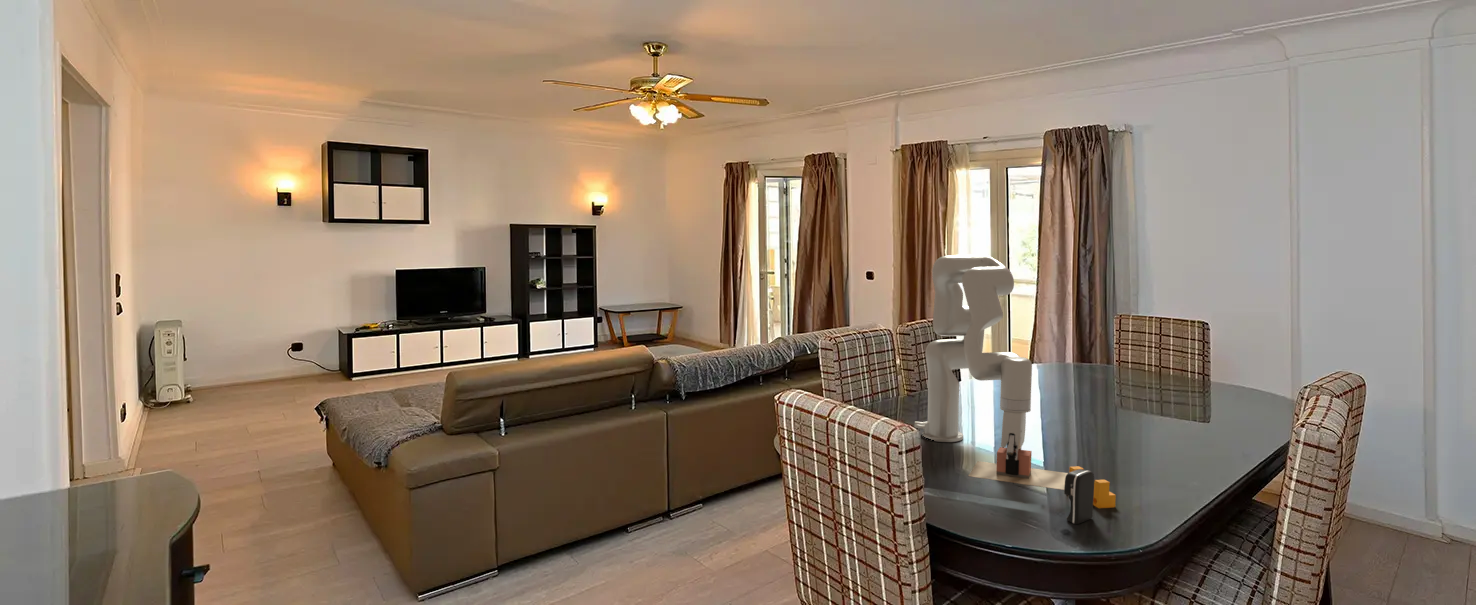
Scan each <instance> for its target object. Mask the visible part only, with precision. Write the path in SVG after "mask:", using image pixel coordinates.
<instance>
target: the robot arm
mask: <svg viewBox="0 0 1476 605" xmlns="http://www.w3.org/2000/svg"><path fill="white" fill-rule="evenodd" d="M931 271H932V272H931V273H932V275H931V276H932V282H933V287H934V299H933V300H934V301H933V303H934V304H933V315H932V328H933V332H934V333H935V334H936V335H938V336H942V337H963V338H947V339H945V338H944V339H937V340H933V341H931V342H930V343H928V344H927V345H926V347H925V355H924V356H925V360H926V368H927V388H928V389H927V421H923V422H922V421H914V428H916V429H917V428H918V430H923V431H922V434H923V435H922V437H923V436H924V437H926V438H929V439H931V440H930V441H932V440H934V441H933V442H939V443H955V442H960V441H962V440H963V439H964V434H963V433H962V432H960V431H959V412H960V411H959V406H960V405H959V404H960V400H959V399H960V395H959V394H960V384H959V380H958V378H957V377H956V375H955V374H954V372H953V370H960V369H961V370H965V369H968V371H969V373H970V375H971V376H972V377H973V379H974V380H977V381H982V382H984V381H1000V397H999V398H1000V401H999V402H1000V405H999V406H1000V407H999V409H1000V411H1001V410H1002V411H1003V413H1002V414H1003V415H1002V424H1001V438H1000V439H1001V440H1000V441H1001V442H1000V447H1002V448H1007V455H1006V470H1005V473H1006V474H1010V475H1018V474H1019V460H1018V450H1022V447H1023V445H1024V442H1025V438H1026V437H1025V436H1026V426H1027V425H1026V423H1027V422H1026V417H1027V413H1029V412H1031V409H1032V408H1031V407H1032V406H1031V405H1032V375H1033V373H1032V372H1033V363H1032V361H1031V359H1029V358H1026V357H1023V356H1022V357H1021V356H1020V355H1019V354H1017V353H1016V352H1012V351H1001V352H999V351H998V352H997V351H995V352H983V348H984V340H985V339H984V337H985V330H987V329H988V328H990V327H993V326H995V325H996V324H998V323H1000V321H1002V319H1003V318H1004V313H1003V309H1002V306H1001V302H1000V299H999V296H1007V295H1010V294H1011V293H1012V292H1013V290H1014V287H1015V280H1014V277H1013V274H1012V272H1011V271H1010V269H1009V268H1008V267H1007V266H1005V265H1004V264H1003V263H1001V262H1000V261H999V260H997V259H995V258H993V257H992V256H990V255H986V254H954V255H953V254H952V255H949V254H948V255H943V256H940V257H939V258H937V259H936V260H935V261H934V263H933V266H932V270H931ZM960 284H962V287H963V289H962V287H961V285H960ZM963 291H964V293H963ZM964 295H965V299H966V302H967V305H963V303H964V302H963V300H964ZM924 437H923V438H924ZM926 438H925V439H926ZM1014 451H1016V453H1015V452H1014ZM1015 454H1016V455H1015Z"/></svg>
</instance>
